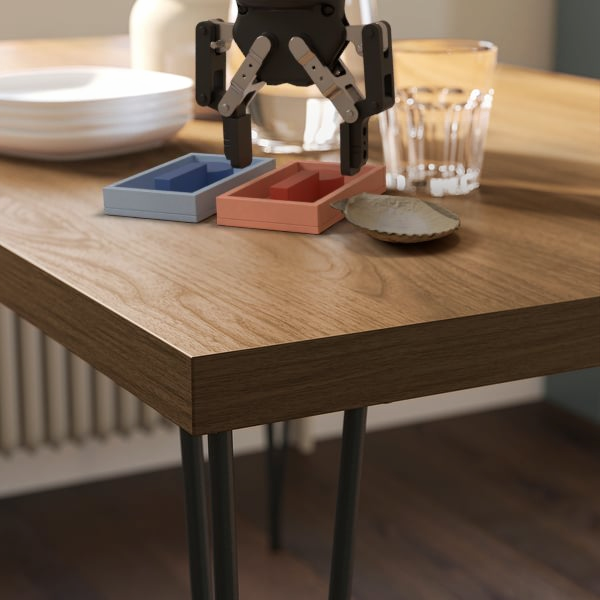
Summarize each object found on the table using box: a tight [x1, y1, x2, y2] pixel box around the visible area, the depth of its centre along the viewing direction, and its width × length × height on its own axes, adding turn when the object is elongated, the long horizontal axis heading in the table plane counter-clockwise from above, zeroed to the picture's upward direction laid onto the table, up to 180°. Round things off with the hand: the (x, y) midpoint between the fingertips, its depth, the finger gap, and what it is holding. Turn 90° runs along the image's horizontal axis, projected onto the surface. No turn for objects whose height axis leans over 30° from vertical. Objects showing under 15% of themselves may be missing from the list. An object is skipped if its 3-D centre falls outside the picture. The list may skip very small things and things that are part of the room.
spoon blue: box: [154, 162, 234, 193], centre depth 89 cm, size 9×4×2 cm, turn 156°
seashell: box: [329, 192, 461, 245], centre depth 77 cm, size 8×3×8 cm
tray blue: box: [102, 152, 277, 224], centre depth 90 cm, size 13×8×2 cm, turn 156°
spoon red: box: [270, 169, 345, 203], centre depth 86 cm, size 9×4×2 cm, turn 156°
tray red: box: [216, 159, 387, 235], centre depth 86 cm, size 13×8×2 cm, turn 156°
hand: (295, 170), depth 84 cm, fingers open, 8 cm apart
